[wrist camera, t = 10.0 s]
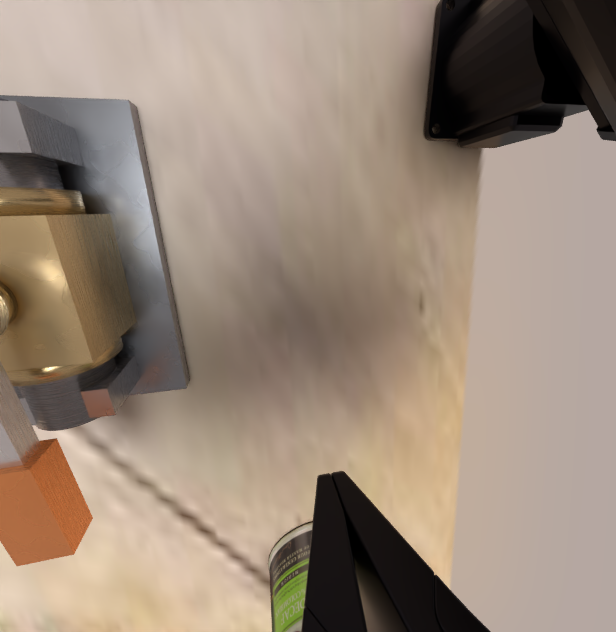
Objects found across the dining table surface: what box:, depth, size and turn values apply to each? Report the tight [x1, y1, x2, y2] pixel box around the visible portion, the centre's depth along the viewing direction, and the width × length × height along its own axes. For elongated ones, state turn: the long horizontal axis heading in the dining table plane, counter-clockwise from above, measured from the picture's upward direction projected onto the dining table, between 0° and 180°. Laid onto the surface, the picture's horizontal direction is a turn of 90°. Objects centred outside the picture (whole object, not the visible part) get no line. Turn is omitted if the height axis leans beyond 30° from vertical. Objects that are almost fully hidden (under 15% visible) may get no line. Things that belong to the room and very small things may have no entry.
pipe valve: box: [0, 95, 190, 431], centre depth 13 cm, size 16×10×7 cm, turn 1°
